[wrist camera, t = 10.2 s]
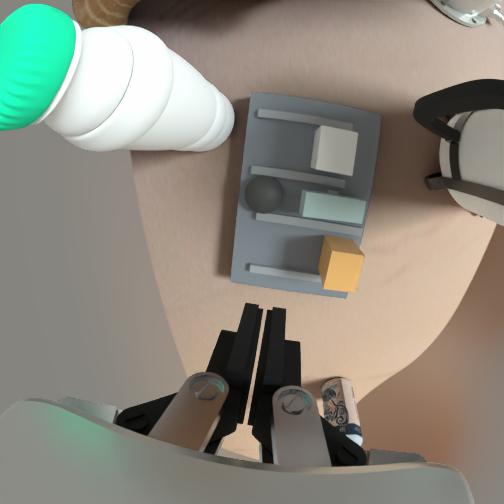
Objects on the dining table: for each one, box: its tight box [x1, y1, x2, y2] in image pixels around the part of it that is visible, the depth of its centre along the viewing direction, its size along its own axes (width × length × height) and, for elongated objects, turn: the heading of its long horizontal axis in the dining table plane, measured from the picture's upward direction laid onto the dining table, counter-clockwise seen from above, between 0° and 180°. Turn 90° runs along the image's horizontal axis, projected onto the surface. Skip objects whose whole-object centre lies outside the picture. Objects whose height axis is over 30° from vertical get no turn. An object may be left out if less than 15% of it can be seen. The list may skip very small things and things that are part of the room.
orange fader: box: [318, 235, 365, 293], centre depth 25 cm, size 3×4×5 cm
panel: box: [230, 92, 381, 299], centre depth 27 cm, size 13×20×4 cm, turn 173°
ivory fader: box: [310, 125, 358, 176], centre depth 22 cm, size 3×4×5 cm
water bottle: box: [0, 4, 234, 152], centre depth 15 cm, size 7×7×25 cm
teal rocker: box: [299, 190, 366, 224], centre depth 24 cm, size 6×2×1 cm, turn 83°
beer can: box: [321, 378, 363, 446], centre depth 31 cm, size 5×5×12 cm
